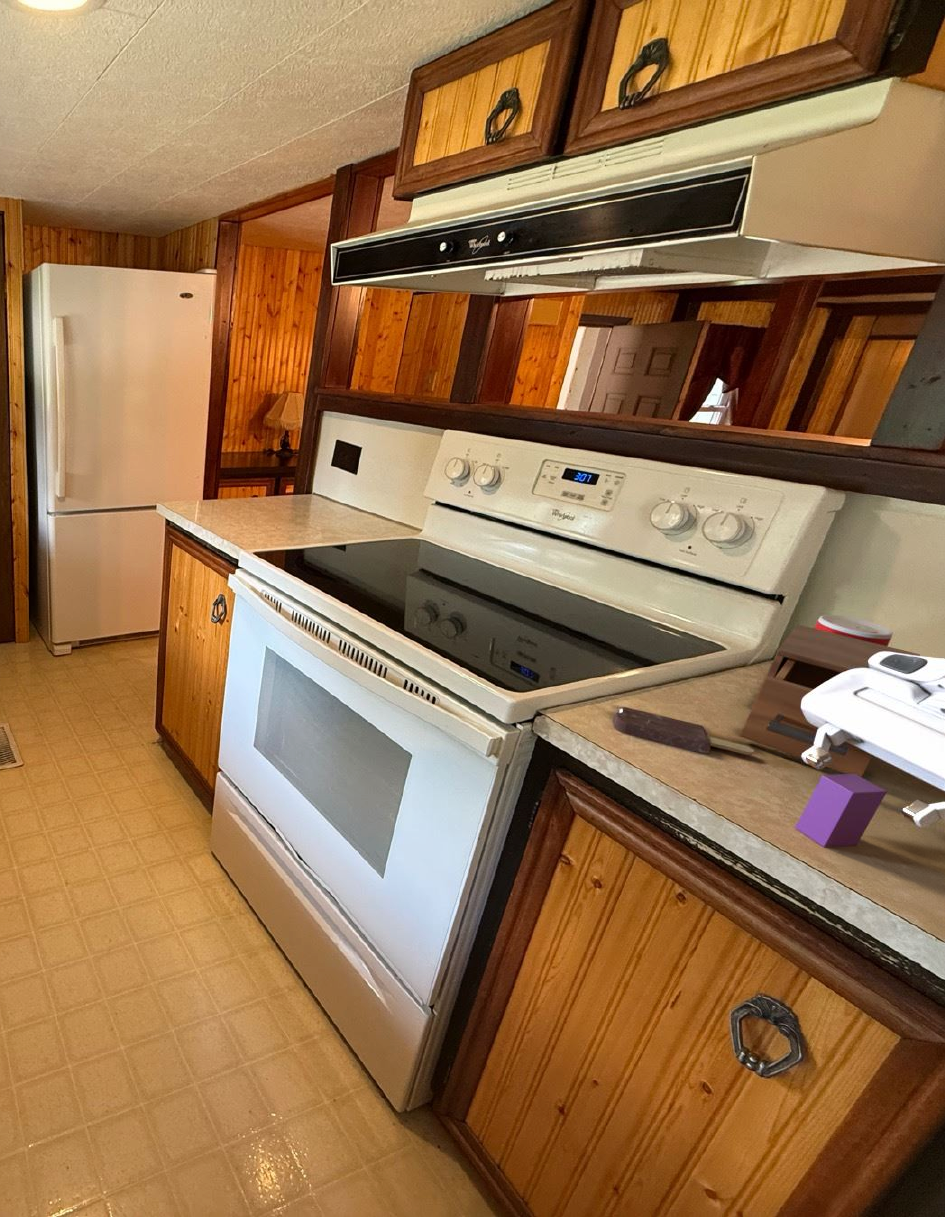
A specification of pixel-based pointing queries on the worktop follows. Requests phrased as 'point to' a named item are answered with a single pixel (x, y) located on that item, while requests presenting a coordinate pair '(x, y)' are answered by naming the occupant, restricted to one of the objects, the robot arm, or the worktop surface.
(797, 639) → the cabinet
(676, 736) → the ice cream bar
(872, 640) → the canned food
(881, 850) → the worktop surface
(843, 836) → the snack box
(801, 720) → the drawer
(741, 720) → the worktop surface
